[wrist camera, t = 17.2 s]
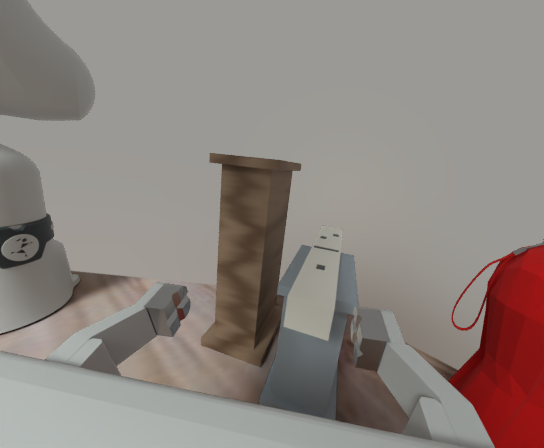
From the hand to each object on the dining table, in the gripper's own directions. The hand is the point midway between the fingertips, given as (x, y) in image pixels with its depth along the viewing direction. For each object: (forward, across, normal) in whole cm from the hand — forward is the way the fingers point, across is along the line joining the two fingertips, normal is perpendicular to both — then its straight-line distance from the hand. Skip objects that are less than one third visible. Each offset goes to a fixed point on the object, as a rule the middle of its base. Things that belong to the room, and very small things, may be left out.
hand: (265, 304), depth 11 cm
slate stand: (+10, -2, +22) cm, 24 cm away
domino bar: (+13, -4, +7) cm, 15 cm away
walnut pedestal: (+16, +7, +22) cm, 28 cm away
